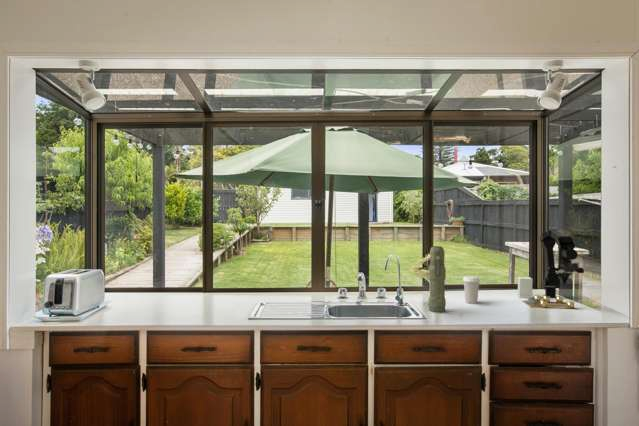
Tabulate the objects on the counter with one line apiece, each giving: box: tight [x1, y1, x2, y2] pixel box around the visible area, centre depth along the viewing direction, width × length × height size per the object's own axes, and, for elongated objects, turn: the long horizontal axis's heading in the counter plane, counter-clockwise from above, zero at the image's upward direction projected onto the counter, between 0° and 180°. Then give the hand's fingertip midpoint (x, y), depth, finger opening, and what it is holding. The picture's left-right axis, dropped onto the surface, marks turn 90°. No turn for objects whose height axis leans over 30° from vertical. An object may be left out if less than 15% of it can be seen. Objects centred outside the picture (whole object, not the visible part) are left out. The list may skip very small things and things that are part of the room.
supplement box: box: [517, 276, 534, 299], centre depth 250 cm, size 7×7×13 cm
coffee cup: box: [462, 275, 481, 305], centre depth 238 cm, size 10×10×15 cm
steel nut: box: [527, 297, 538, 305], centre depth 231 cm, size 5×5×3 cm
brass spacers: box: [533, 294, 575, 310], centre depth 230 cm, size 16×17×4 cm
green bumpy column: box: [428, 245, 447, 313], centre depth 220 cm, size 9×12×35 cm
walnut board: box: [522, 300, 579, 310], centre depth 230 cm, size 17×24×1 cm
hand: (563, 284), depth 231 cm, fingers closed
